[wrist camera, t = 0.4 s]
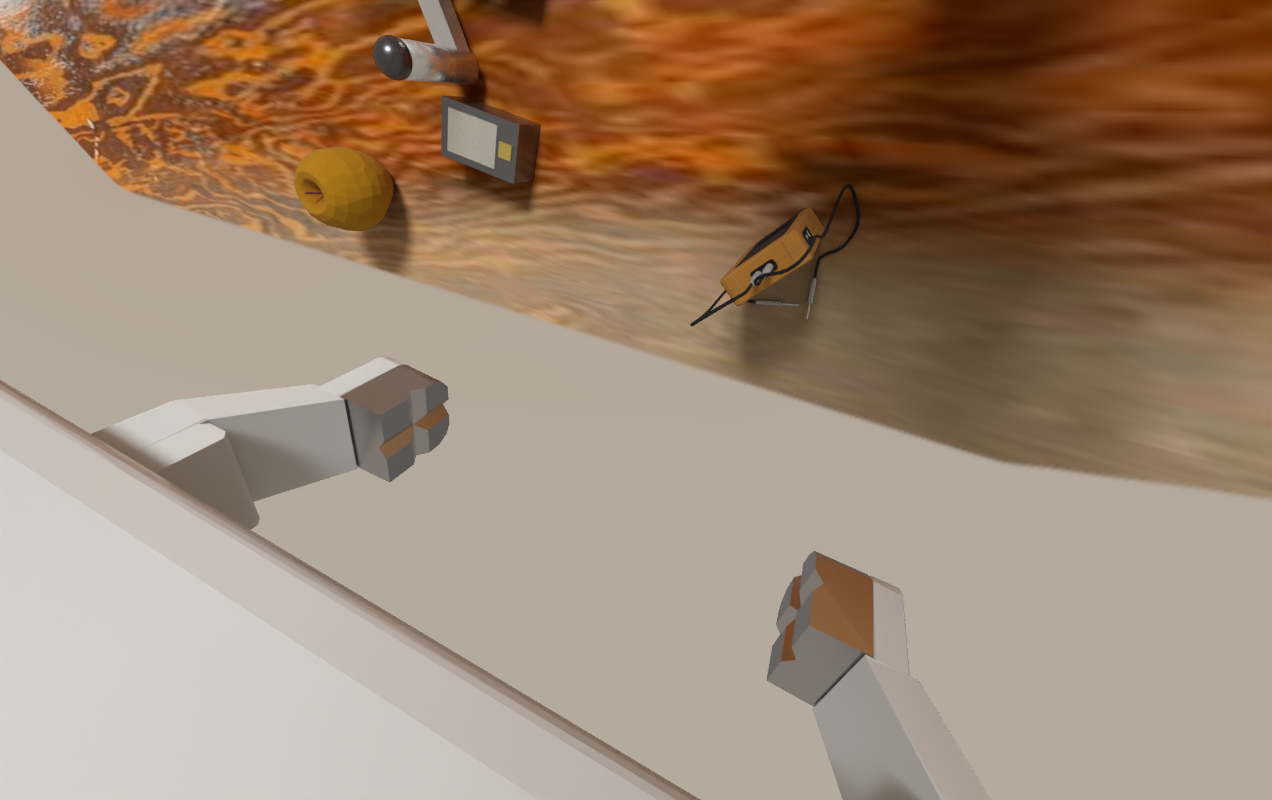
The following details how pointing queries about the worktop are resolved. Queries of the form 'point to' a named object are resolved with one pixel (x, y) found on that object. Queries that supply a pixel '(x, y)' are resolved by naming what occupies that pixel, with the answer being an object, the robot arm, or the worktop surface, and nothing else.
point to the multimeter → (777, 259)
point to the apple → (344, 188)
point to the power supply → (489, 139)
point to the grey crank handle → (429, 51)
